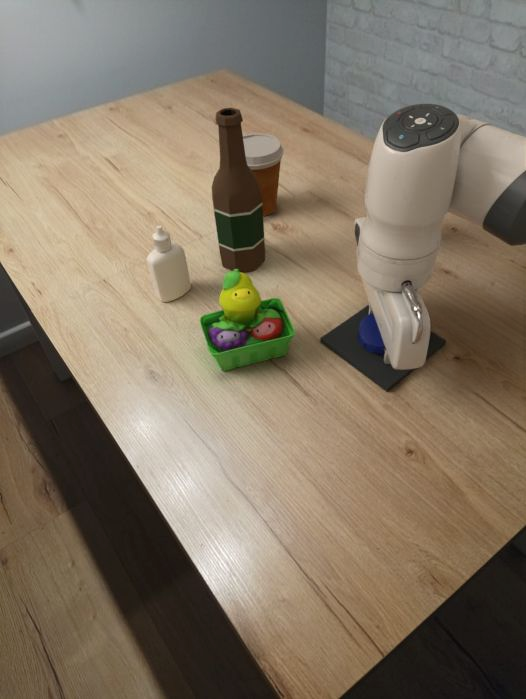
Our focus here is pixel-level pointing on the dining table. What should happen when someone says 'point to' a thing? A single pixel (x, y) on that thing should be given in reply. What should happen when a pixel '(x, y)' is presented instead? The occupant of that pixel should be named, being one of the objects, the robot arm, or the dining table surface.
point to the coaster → (366, 362)
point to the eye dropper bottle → (168, 267)
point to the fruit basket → (246, 325)
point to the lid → (370, 335)
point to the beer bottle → (237, 199)
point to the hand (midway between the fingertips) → (382, 339)
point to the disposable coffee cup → (264, 165)
